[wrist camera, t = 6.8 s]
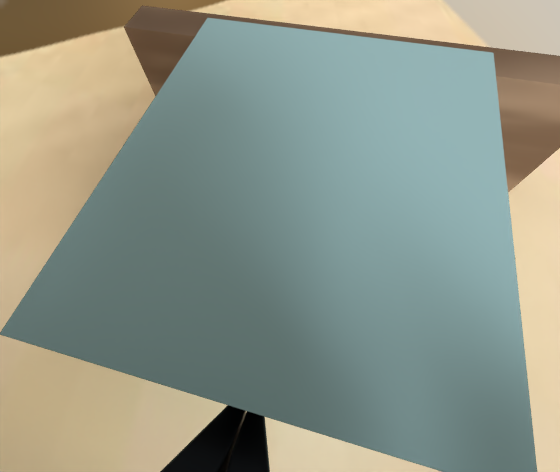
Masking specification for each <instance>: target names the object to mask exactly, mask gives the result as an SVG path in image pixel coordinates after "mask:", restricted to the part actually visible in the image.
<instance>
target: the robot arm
mask: <svg viewBox="0 0 560 472" xmlns="http://www.w3.org/2000/svg"><path fill="white" fill-rule="evenodd" d="M160 472H270V469H269V458H268V448H267V438H266V428H265V417H264V416H262V415H258V414H255V413H252V412H249V411H247V412H246V411H245V410H242V409H239V408H236V407H232V406H229V405H228V406H227V407H226V408H225V409H224V410H223V411H222V412H221V413H220V414H219V415H218V416H217V417H216V418H214V419H213V420H212V421H211V422H210V423H209V424H208V425H207V426H206V427H205V428H204V429H203V430H202V431H201V432H200V433H199V434H198V435H197V436H196V437H195V438H194V439H193V440H192V441H191V442H190V443H189V444H188V445H187V446H186V447H185V448H184V449H183V450H182V451H181V452H180V453H179V454H178V455H177V456H176V457H175V458H174V459H173V460H172V461H171V462H170V463H169V464H168V465H167V466H166V467H165V468H164V469H163V470H162V471H160Z"/></svg>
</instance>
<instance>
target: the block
mask: <svg viewBox="0 0 560 472" xmlns="http://www.w3.org/2000/svg"><path fill="white" fill-rule="evenodd" d="M0 335H3V336H7V337H10V338H13V339H16V340H19V341H23V342H26V343H29V344H32V345H36V346H39V347H42V348H45V349H48V350H52V351H55V352H58V353H61V354H65V355H68V356H71V357H74V358H78V359H81V360H84V361H87V362H90V363H94V364H97V365H100V366H103V367H107V368H110V369H113V370H116V371H119V372H123V373H126V374H129V375H132V376H136V377H139V378H142V379H145V380H149V381H152V382H155V383H158V384H161V385H165V386H168V387H171V388H174V389H178V390H181V391H184V392H187V393H190V394H194V395H197V396H200V397H203V398H207V399H210V400H213V401H216V402H220V403H223V404H226V405H229V406H232V407H236V408H239V409H242V410H245V411H249V412H252V413H255V414H258V415H262V416H265V417H268V418H271V419H274V420H278V421H281V422H284V423H287V424H291V425H294V426H297V427H300V428H303V429H307V430H310V431H313V432H316V433H320V434H323V435H326V436H329V437H333V438H336V439H339V440H342V441H345V442H349V443H352V444H355V445H358V446H362V447H365V448H368V449H371V450H374V451H378V452H381V453H384V454H387V455H391V456H394V457H397V458H400V459H404V460H407V461H410V462H413V463H416V464H420V465H423V466H426V467H429V468H433V469H436V470H439V471H442V472H537V466H536V456H535V446H534V437H533V427H532V418H531V408H530V398H529V389H528V379H527V370H526V360H525V351H524V341H523V331H522V322H521V312H520V303H519V293H518V283H517V274H516V264H515V255H514V245H513V235H512V226H511V216H510V207H509V197H508V187H507V178H506V168H505V159H504V149H503V139H502V130H501V120H500V111H499V101H498V91H497V82H496V72H495V63H494V53H492V52H484V51H475V50H467V49H459V48H451V47H443V46H435V45H427V44H418V43H410V42H402V41H394V40H386V39H378V38H369V37H361V36H353V35H345V34H337V33H329V32H320V31H312V30H304V29H296V28H288V27H280V26H272V25H263V24H255V23H247V22H239V21H231V20H223V19H214V18H207V19H206V21H205V22H204V24H203V25H202V27H201V28H200V30H199V31H198V33H197V35H196V36H195V38H194V39H193V41H192V42H191V44H190V45H189V47H188V48H187V50H186V51H185V53H184V54H183V56H182V57H181V59H180V60H179V62H178V63H177V65H176V66H175V68H174V69H173V71H172V73H171V74H170V76H169V77H168V79H167V80H166V82H165V83H164V85H163V86H162V88H161V89H160V91H159V92H158V94H157V95H156V97H155V98H154V100H153V101H152V103H151V104H150V106H149V107H148V109H147V111H146V112H145V114H144V115H143V117H142V118H141V120H140V121H139V123H138V124H137V126H136V127H135V129H134V130H133V132H132V133H131V135H130V136H129V138H128V139H127V141H126V142H125V144H124V145H123V147H122V149H121V150H120V152H119V153H118V155H117V156H116V158H115V159H114V161H113V162H112V164H111V165H110V167H109V168H108V170H107V171H106V173H105V174H104V176H103V177H102V179H101V180H100V182H99V184H98V185H97V187H96V188H95V190H94V191H93V193H92V194H91V196H90V197H89V199H88V200H87V202H86V203H85V205H84V206H83V208H82V209H81V211H80V212H79V214H78V215H77V217H76V218H75V220H74V222H73V223H72V225H71V226H70V228H69V229H68V231H67V232H66V234H65V235H64V237H63V238H62V240H61V241H60V243H59V244H58V246H57V247H56V249H55V250H54V252H53V253H52V255H51V256H50V258H49V260H48V261H47V263H46V264H45V266H44V267H43V269H42V270H41V272H40V273H39V275H38V276H37V278H36V279H35V281H34V282H33V284H32V285H31V287H30V288H29V290H28V291H27V293H26V294H25V296H24V298H23V299H22V301H21V302H20V304H19V305H18V307H17V308H16V310H15V311H14V313H13V314H12V316H11V317H10V319H9V320H8V322H7V323H6V325H5V326H4V328H3V329H2V331H1V332H0Z"/></svg>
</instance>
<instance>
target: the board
mask: <svg viewBox="0 0 560 472" xmlns="http://www.w3.org/2000/svg"><path fill="white" fill-rule="evenodd" d="M207 18H214V19H223V20H231V21H239V22H247V23H255V24H263V25H272V26H280V27H288V28H296V29H304V30H312V31H320V32H329V33H337V34H345V35H353V36H361V37H369V38H378V39H386V40H394V41H402V42H410V43H418V44H427V45H435V46H443V47H451V48H459V49H467V50H475V51H484V52H492V53H494V63H495V72H496V82H497V91H498V101H499V111H500V120H501V130H502V139H503V149H504V159H505V168H506V178H507V187H508V192H509V191H510V190H512V189H513V188H514V187H515V186H516V185H517V184H518V183H520V182H521V181H522V180H523V179H524V178H525V177H527V176H528V175H529V174H530V173H531V172H532V171H533V170H535V169H536V168H537V167H538V166H539V165H540V164H542V163H543V162H544V161H545V160H546V159H547V158H548V157H550V156H551V155H552V154H553V153H554V152H555V151H557V150H558V149H559V148H560V56H556V55H547V54H539V53H531V52H523V51H515V50H506V49H498V48H490V47H481V46H473V45H465V44H456V43H448V42H440V41H431V40H423V39H415V38H407V37H398V36H390V35H382V34H373V33H365V32H357V31H348V30H340V29H332V28H324V27H315V26H307V25H299V24H290V23H282V22H274V21H265V20H257V19H249V18H240V17H232V16H224V15H216V14H207V13H199V12H191V11H182V10H174V9H165V8H157V7H148V6H141V8H140V9H139V10H138V11H137V12H136V13H135V15H134V16H133V17H132V18H131V19H130V20H129V22H128V23H127V24H126V25H125V26H124V28H125V31H126V33H127V35H128V37H129V39H130V41H131V44H132V46H133V48H134V50H135V52H136V55H137V57H138V59H139V61H140V63H141V65H142V68H143V70H144V72H145V74H146V76H147V78H148V81H149V83H150V85H151V87H152V89H153V91H154V94H155V96H156V95H157V94H158V92H159V91H160V89H161V88H162V86H163V85H164V83H165V82H166V80H167V79H168V77H169V76H170V74H171V73H172V71H173V69H174V68H175V66H176V65H177V63H178V62H179V60H180V59H181V57H182V56H183V54H184V53H185V51H186V50H187V48H188V47H189V45H190V44H191V42H192V41H193V39H194V38H195V36H196V35H197V33H198V31H199V30H200V28H201V27H202V25H203V24H204V22H205V21H206V19H207Z"/></svg>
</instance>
